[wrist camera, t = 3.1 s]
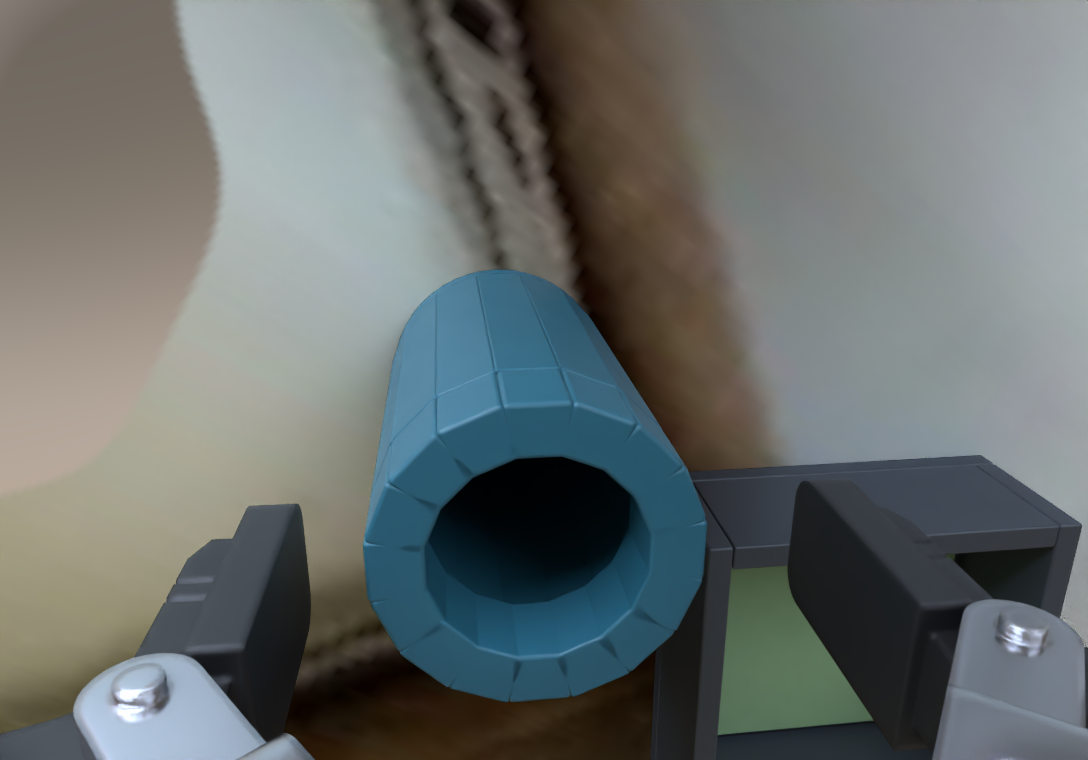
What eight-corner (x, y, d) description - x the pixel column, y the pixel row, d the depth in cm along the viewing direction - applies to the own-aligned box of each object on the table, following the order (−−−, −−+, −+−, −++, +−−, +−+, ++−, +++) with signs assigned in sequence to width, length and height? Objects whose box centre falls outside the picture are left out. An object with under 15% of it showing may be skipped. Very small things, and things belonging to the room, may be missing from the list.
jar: (401, 469, 22) (377, 716, 13) (388, 272, 20) (350, 410, 11) (598, 458, 22) (696, 688, 14) (602, 265, 20) (718, 394, 12)
